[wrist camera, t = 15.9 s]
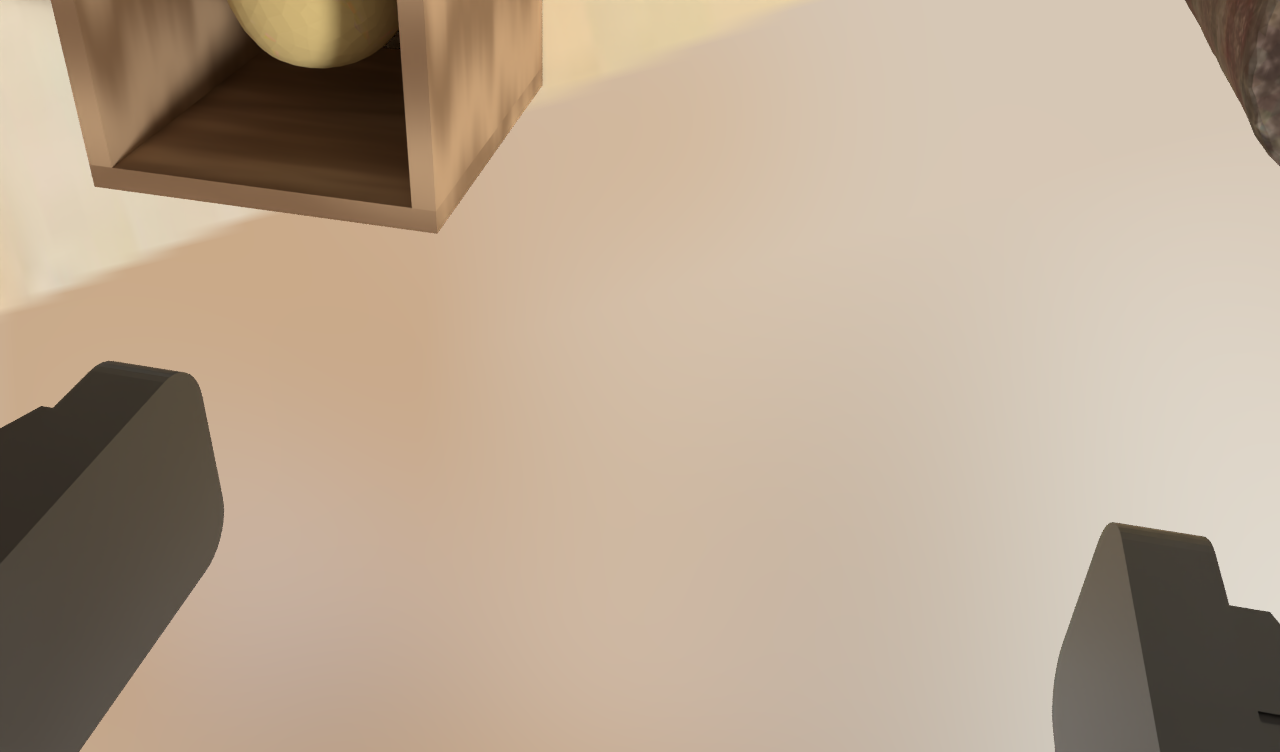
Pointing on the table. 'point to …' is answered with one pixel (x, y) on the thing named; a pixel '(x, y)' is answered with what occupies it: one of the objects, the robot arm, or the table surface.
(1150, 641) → the robot arm
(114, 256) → the table surface
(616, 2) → the table surface
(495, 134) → the box
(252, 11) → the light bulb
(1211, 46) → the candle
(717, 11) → the table surface
